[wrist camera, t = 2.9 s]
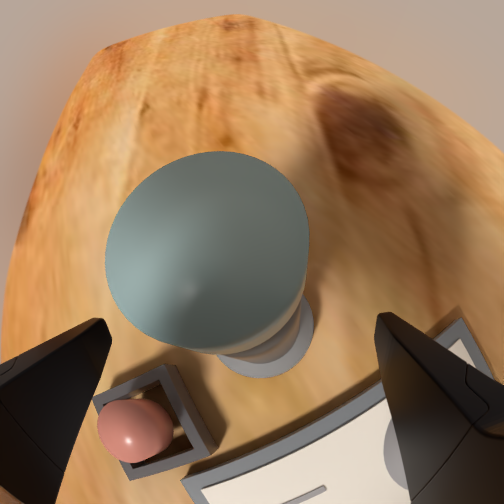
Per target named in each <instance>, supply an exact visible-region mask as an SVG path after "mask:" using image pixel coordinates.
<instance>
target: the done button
mask: <svg viewBox="0 0 504 504" xmlns="http://www.w3.org/2000/svg"><path fill="white" fill-rule="evenodd" d="M97 427H98V433H99V437H100V439H101V441H102V443H103V445H104V447H105V448H106V449H107V450H108V452H109V453H110V454H112V455H113V456H114V457H116V458H117V459H119V460H121V461H124V462H128V463H137V462H140V461H143V460H145V459H147V458H149V457H152V456H154V455H156V454H158V453H160V452H162V451H164V450H165V449H166V448H168V446H169V445H170V443H171V442H172V439H173V434H174V428H173V423H172V420H171V418H170V416H169V414H168V413H167V411H166V410H165V409H164V408H163V407H162V406H161V405H160V404H158V403H157V402H155V401H152V400H150V399H144V398H143V399H128V400H115V401H112V402H109V403H108V404H106V405H105V406H104V407H103V408H102V410H101V412H100V414H99V417H98V423H97Z"/></svg>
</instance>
